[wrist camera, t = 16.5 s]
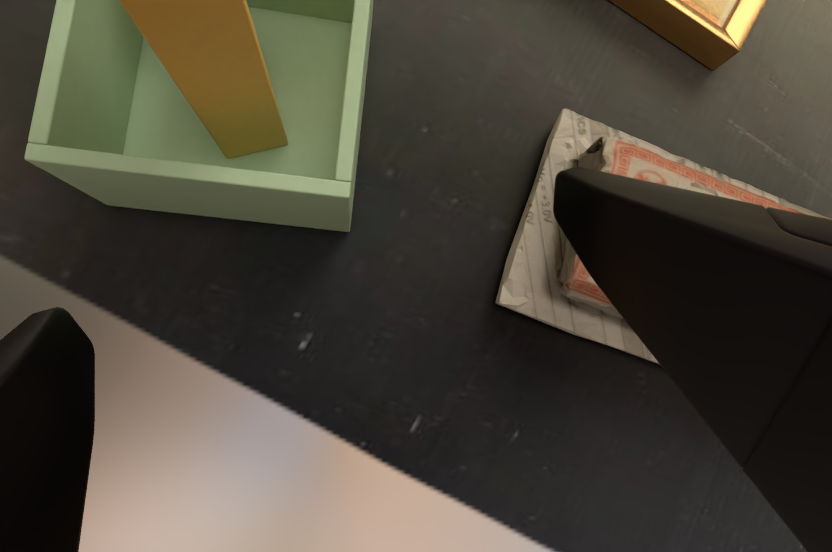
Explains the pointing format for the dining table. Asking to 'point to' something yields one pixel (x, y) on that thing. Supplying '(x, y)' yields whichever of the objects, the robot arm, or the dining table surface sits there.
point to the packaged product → (552, 252)
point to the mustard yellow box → (215, 68)
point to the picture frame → (699, 24)
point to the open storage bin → (183, 130)
